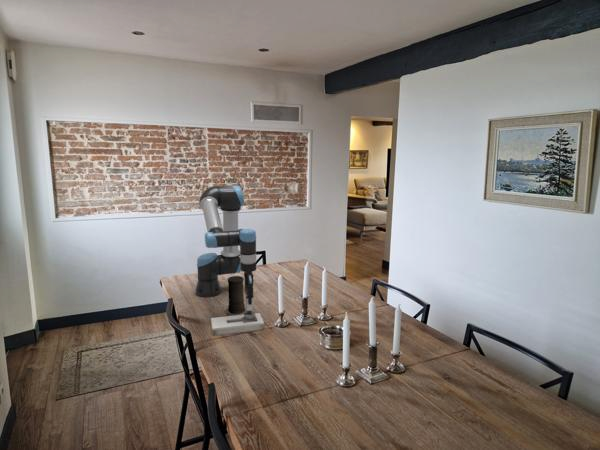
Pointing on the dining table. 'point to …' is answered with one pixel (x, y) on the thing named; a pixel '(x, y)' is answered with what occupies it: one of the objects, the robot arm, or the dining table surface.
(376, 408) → the dining table surface
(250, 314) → the peg
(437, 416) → the dining table surface
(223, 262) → the robot arm
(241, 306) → the container
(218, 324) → the keyhole board
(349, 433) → the dining table surface
